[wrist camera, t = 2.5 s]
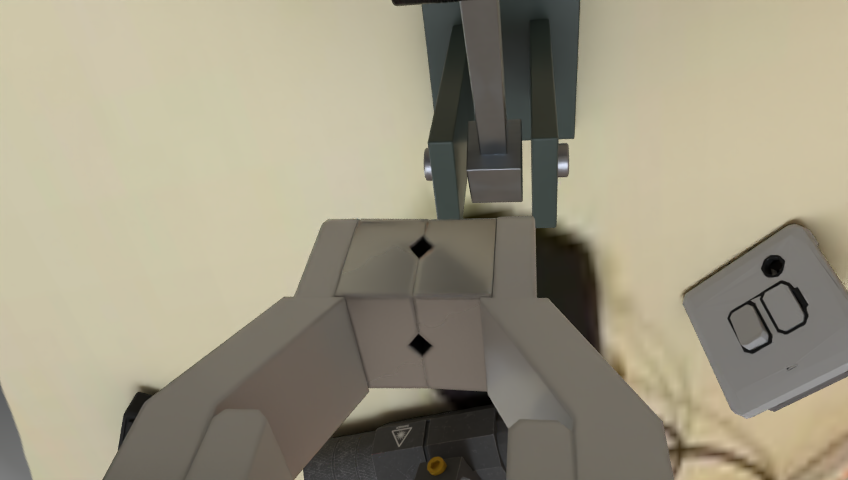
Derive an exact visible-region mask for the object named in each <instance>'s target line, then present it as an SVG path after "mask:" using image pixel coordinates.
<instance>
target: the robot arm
mask: <svg viewBox="0 0 848 480" xmlns="http://www.w3.org/2000/svg"><path fill="white" fill-rule="evenodd" d="M368 388H434V389H452V390H470V391H487V392H488V396H489V397H490V399H491V401H492V402H493V404H494V406H495V407H496V409H497V411H498V412H499V414H500V416H501V417H502V419H503V421H504V422H505V424H506V426H507V427H508V444H507V469H506V480H674V478H673V473H672V467H671V462H670V457H669V451H668V446H667V441H666V436H665V430H664V425H663V421H662V420H661V419H660V418H659V417H658V416H657V415H656V414H655V413H654V412H653V411H652V410H651V409H650V407H649V406H648V405H647V404H646V403H645V402H644V401H643V400H642V399H641V398H640V397H639V396H638V395H637V394H636V392H635V391H634V390H633V389H632V388H631V387H630V386H629V385H628V384H627V383H626V382H625V381H624V380H623V379H622V377H621V376H620V375H619V374H618V373H617V372H616V371H615V370H614V369H613V368H612V367H611V366H610V365H609V364H608V362H607V361H606V360H605V359H604V358H603V357H602V356H601V355H600V354H599V353H598V352H597V351H596V350H595V349H594V347H593V346H592V345H591V344H590V343H589V342H588V341H587V340H586V339H585V338H584V337H583V336H582V335H581V333H580V332H579V331H578V330H577V329H576V328H575V327H574V326H573V325H572V324H571V323H570V322H569V321H568V320H567V318H566V317H565V316H564V315H563V314H562V313H561V312H560V311H559V310H558V309H557V308H556V307H555V306H554V305H553V303H552V302H551V301H550V300H549V299H548V298H537V295H536V243H535V219H534V217H533V216H514V217H498V219H497V218H486V219H434V220H428V219H361V220H359V219H328V220H326V221H325V222H324V223H323V224H322V225H321V228H320V230H319V233H318V236H317V238H316V241H315V243H314V246H313V249H312V251H311V254H310V256H309V259H308V262H307V264H306V267H305V269H304V272H303V275H302V277H301V280H300V282H299V285H298V288H297V290H296V293H295V295H294V297H283V298H282V299H280V300H279V301H278V302H277V303H275V304H274V305H273V306H271V307H270V308H269V309H267V310H266V311H265V312H263V313H262V314H261V315H259V316H258V317H257V318H255V319H254V320H253V321H251V322H250V323H249V324H247V325H246V326H245V327H243V328H242V329H241V330H239V331H238V332H237V333H235V334H234V335H233V336H231V337H230V338H229V339H228V340H226V341H225V342H224V343H222V344H221V345H220V346H218V347H217V348H216V349H214V350H213V351H212V352H210V353H209V354H208V355H206V356H205V357H204V358H202V359H201V360H200V361H198V362H197V363H196V364H194V365H193V366H192V367H190V368H189V369H188V370H186V371H185V372H184V373H182V374H181V375H180V376H179V377H177V378H176V379H175V380H173V381H172V382H171V383H169V384H168V385H167V386H165V387H164V388H163V389H161V390H160V391H159V392H157V393H156V394H155V395H153V396H152V397H151V398H149V399H148V400H147V401H145V402H144V404H143V406H142V407H141V409H140V411H139V413H138V415H137V417H136V419H135V420H134V422H133V424H132V426H131V428H130V430H129V432H128V433H127V435H126V437H125V439H124V441H123V443H122V444H121V446H120V448H119V450H118V452H117V454H116V456H115V457H114V459H113V461H112V463H111V465H110V467H109V469H108V470H107V472H106V474H105V476H104V478H103V480H294V479H295V478H296V477H297V475H298V474H299V473H300V472H301V471H302V470H303V468H304V467H305V466H306V465H307V464H308V463H309V461H310V460H311V459H312V458H313V457H314V456H315V454H316V453H317V452H318V451H319V450H320V449H321V447H322V446H323V445H324V444H325V443H326V442H327V440H328V439H329V438H330V437H331V436H332V435H333V433H334V432H335V431H336V430H337V429H338V427H339V426H340V425H341V424H342V423H343V422H344V420H345V419H346V418H347V417H348V416H349V415H350V413H351V412H352V411H353V410H354V409H355V408H356V406H357V405H358V404H359V403H360V402H361V401H362V399H363V398H364V397H365V396H366V395H367V394H368V392H369V389H368Z"/></svg>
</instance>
